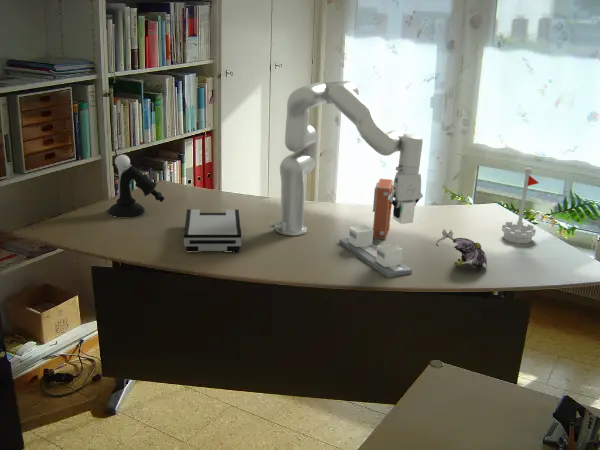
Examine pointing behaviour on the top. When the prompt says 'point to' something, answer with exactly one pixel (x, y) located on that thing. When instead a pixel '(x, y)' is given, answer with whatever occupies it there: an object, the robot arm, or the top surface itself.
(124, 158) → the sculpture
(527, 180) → the flag stand
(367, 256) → the rail board
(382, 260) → the block
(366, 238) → the module left
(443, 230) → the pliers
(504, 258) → the top surface
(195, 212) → the game console
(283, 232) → the robot arm
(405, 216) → the block
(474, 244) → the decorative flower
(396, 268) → the din rail
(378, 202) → the control panel
